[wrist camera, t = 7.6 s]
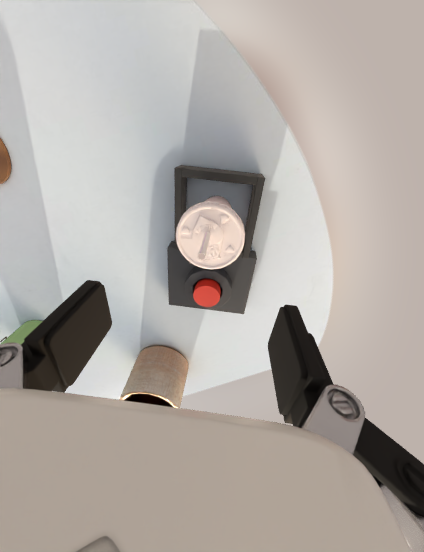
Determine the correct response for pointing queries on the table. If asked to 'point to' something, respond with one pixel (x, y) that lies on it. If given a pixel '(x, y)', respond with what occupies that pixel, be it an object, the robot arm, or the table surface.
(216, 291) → the stop button
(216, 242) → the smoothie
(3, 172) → the coaster
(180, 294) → the button base
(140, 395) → the planter
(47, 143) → the table surface
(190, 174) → the frame
